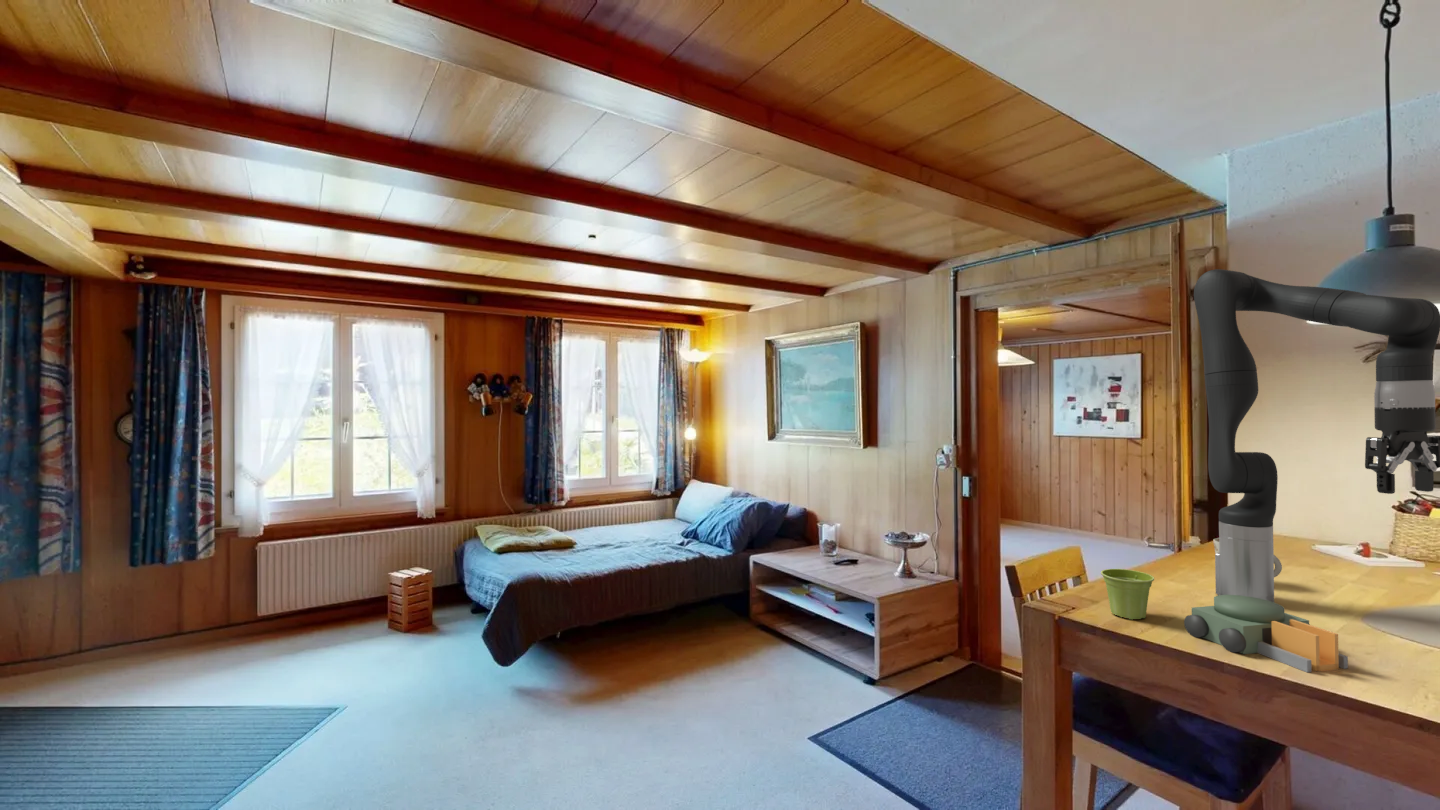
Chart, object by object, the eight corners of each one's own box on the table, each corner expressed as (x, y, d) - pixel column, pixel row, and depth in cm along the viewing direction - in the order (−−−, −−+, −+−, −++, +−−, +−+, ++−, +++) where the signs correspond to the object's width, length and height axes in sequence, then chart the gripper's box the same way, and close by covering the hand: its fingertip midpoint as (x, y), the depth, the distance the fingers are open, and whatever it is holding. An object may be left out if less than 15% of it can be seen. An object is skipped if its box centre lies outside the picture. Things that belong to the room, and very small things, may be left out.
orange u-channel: (1272, 654, 108) (1271, 621, 108) (1293, 652, 108) (1292, 619, 108) (1316, 671, 101) (1315, 636, 101) (1338, 669, 101) (1338, 633, 101)
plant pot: (1107, 620, 125) (1107, 578, 125) (1096, 605, 134) (1096, 566, 134) (1161, 625, 122) (1160, 582, 122) (1146, 610, 131) (1146, 570, 131)
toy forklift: (1184, 632, 118) (1183, 596, 118) (1255, 626, 120) (1255, 591, 120) (1286, 674, 100) (1285, 632, 100) (1368, 666, 102) (1367, 624, 102)
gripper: (1410, 404, 117) (1411, 487, 117) (1348, 406, 115) (1349, 490, 115) (1462, 404, 110) (1463, 493, 110) (1397, 406, 108) (1398, 497, 108)
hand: (1405, 492), depth 113 cm, fingers open, 8 cm apart
